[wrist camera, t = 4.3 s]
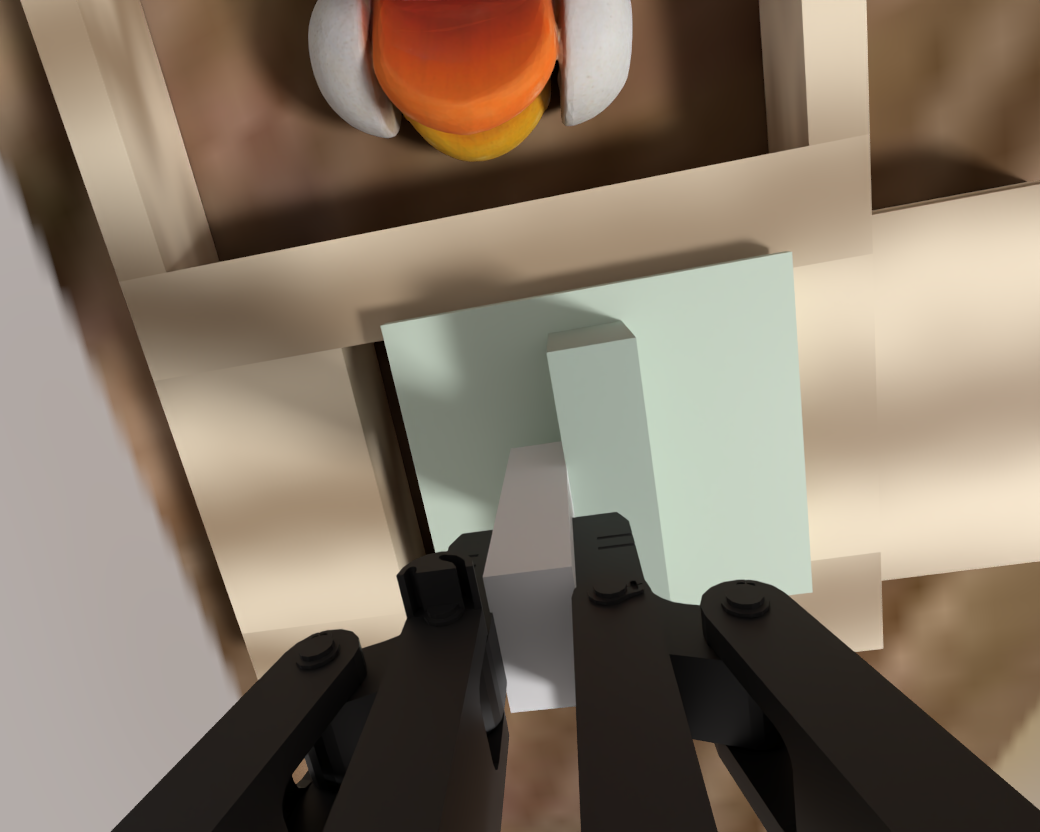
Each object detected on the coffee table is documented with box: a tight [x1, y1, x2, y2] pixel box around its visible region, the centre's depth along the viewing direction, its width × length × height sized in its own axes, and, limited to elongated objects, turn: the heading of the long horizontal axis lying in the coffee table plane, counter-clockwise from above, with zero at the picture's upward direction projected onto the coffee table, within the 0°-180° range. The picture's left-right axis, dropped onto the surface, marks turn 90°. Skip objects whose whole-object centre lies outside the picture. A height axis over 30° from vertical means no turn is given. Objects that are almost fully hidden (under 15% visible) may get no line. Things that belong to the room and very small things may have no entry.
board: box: [20, 0, 1040, 680], centre depth 18 cm, size 30×27×3 cm
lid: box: [381, 251, 813, 605], centre depth 16 cm, size 10×11×4 cm
